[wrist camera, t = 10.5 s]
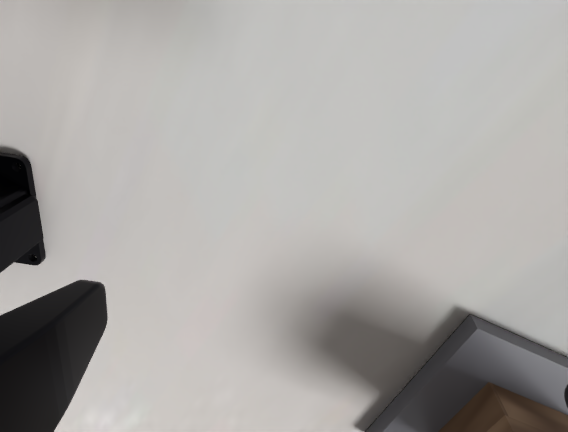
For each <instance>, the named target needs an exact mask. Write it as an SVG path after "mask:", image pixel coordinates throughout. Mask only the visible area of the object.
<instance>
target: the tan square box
mask: <svg viewBox="0 0 568 432" xmlns="http://www.w3.org/2000/svg"><path fill="white" fill-rule="evenodd" d="M438 432H568V415H566V414H564V413H561V412H559V411H557V410H554V409H552V408H549V407H547V406H545V405H542V404H540V403H538V402H535V401H533V400H530V399H528V398H526V397H523V396H521V395H519V394H516V393H514V392H511V391H509V390H507V389H504V388H502V387H499V386H497V385H495V384H492V383H490V382H488V383H487V384H486V385H485V386H484V387H483V388H482V389H481V390H480V391H479V392H478V393H477V394H476V395H475V396H474V397H473V398H472V399H471V400H470V401H469V402H468V403H467V404H466V405H465V406H464V407H463V408H462V409H461V410H460V411H459V412H458V413H457V414H456V415H455V416H454V417H453V418H452V419H451V420H450V421H449V422H448V423H447V424H445V425H444V426H443V427H442V428H441V429H440V430H439V431H438Z"/></svg>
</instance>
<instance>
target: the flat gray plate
mask: <svg viewBox="0 0 568 432" xmlns="http://www.w3.org/2000/svg"><path fill="white" fill-rule="evenodd" d="M488 382H490V383H492V384H495V385H497V386H499V387H502V388H504V389H507V390H509V391H511V392H514V393H516V394H519V395H521V396H523V397H526V398H528V399H530V400H533V401H535V402H538V403H540V404H542V405H545V406H547V407H549V408H552V409H554V410H557V411H559V412H561V413H564V414H566V415H568V408H567V405H566V402H565V398H564V391H565V388H566V386H567V384H568V358H567V357H565V356H563V355H560V354H558V353H556V352H554V351H552V350H549V349H547V348H545V347H543V346H540V345H538V344H536V343H534V342H531V341H529V340H527V339H525V338H522V337H520V336H518V335H516V334H513V333H511V332H509V331H507V330H504V329H502V328H500V327H498V326H496V325H493V324H491V323H489V322H487V321H484V320H482V319H480V318H478V317H475V316H473V315H471V314H470V315H469V316H468V317H467V318H466V319H465V320H464V321H463V323H462V324H461V325H460V326H459V327H458V328H457V329H456V330H455V332H454V333H453V334H452V335H451V336H450V337H449V338H448V339H447V341H446V342H445V343H444V344H443V345H442V346H441V347H440V348H439V350H438V351H437V352H436V353H435V354H434V355H433V356H432V357H431V359H430V360H429V361H428V362H427V363H426V364H425V365H424V366H423V368H422V369H421V370H420V371H419V372H418V373H417V374H416V375H415V377H414V378H413V379H412V380H411V381H410V382H409V383H408V384H407V386H406V387H405V388H404V389H403V390H402V391H401V392H400V393H399V395H398V396H397V397H396V398H395V399H394V400H393V401H392V402H391V404H390V405H389V406H388V407H387V408H386V409H385V410H384V411H383V413H382V414H381V415H380V416H379V417H378V418H377V419H376V420H375V422H374V423H373V424H372V425H371V426H370V427H369V428H368V429H367V431H366V432H438V431H439V430H440V429H441V428H442V427H443V426H444V425H445V424H447V423H448V422H449V421H450V420H451V419H452V418H453V417H454V416H455V415H456V414H457V413H458V412H459V411H460V410H461V409H462V408H463V407H464V406H465V405H466V404H467V403H468V402H469V401H470V400H471V399H472V398H473V397H474V396H475V395H476V394H477V393H478V392H479V391H480V390H481V389H482V388H483V387H484V386H485V385H486V384H487V383H488Z"/></svg>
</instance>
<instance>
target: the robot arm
mask: <svg viewBox="0 0 568 432" xmlns="http://www.w3.org/2000/svg"><path fill="white" fill-rule="evenodd" d="M17 163H19V164H20V165H21V168H19V167H18V165H17ZM34 255H35V256H36V257H37V258H36V257H35V256H34ZM45 256H46V255H45V249H44V243H43V232H42V226H41V220H40V213H39V207H38V201H37V199H36V192H35V186H34V180H33V174H32V167H31V164H30V162H29V160H28V159H27V158H25V157H24V156H21V155H15V154H8V153H2V152H0V273H1V272H2V271H3V270H4V269H6V268H7V267H8V266H10V265H11V264H12V263H13V262H16V263H23V264H29V265H39V264H40V263H41V262H43V261H44V259H45ZM106 324H107V304H106V292H105V287H104V285H103V284H102V283H100V282H95V281H88V280H78V281H76V282H74V283H71V284H69V285H67V286H65V287H63V288H60V289H58V290H56V291H54V292H51V293H49V294H47V295H45V296H43V297H40V298H38V299H36V300H34V301H32V302H29V303H27V304H25V305H23V306H21V307H18V308H16V309H14V310H12V311H9V312H7V313H5V314H3V315H1V316H0V432H54V430H55V428H56V427H57V425H58V423H59V422H60V420H61V418H62V417H63V415H64V413H65V411H66V410H67V408H68V406H69V404H70V402H71V400H72V398H73V396H74V394H75V392H76V390H77V388H78V386H79V384H80V381H81V379H82V377H83V375H84V373H85V371H86V369H87V367H88V364H89V362H90V360H91V358H92V356H93V354H94V352H95V350H96V348H97V345H98V343H99V341H100V339H101V337H102V335H103V333H104V330H105V328H106ZM564 398H565V402H566V405H567V408H568V384H567V386H566V388H565V391H564Z"/></svg>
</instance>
